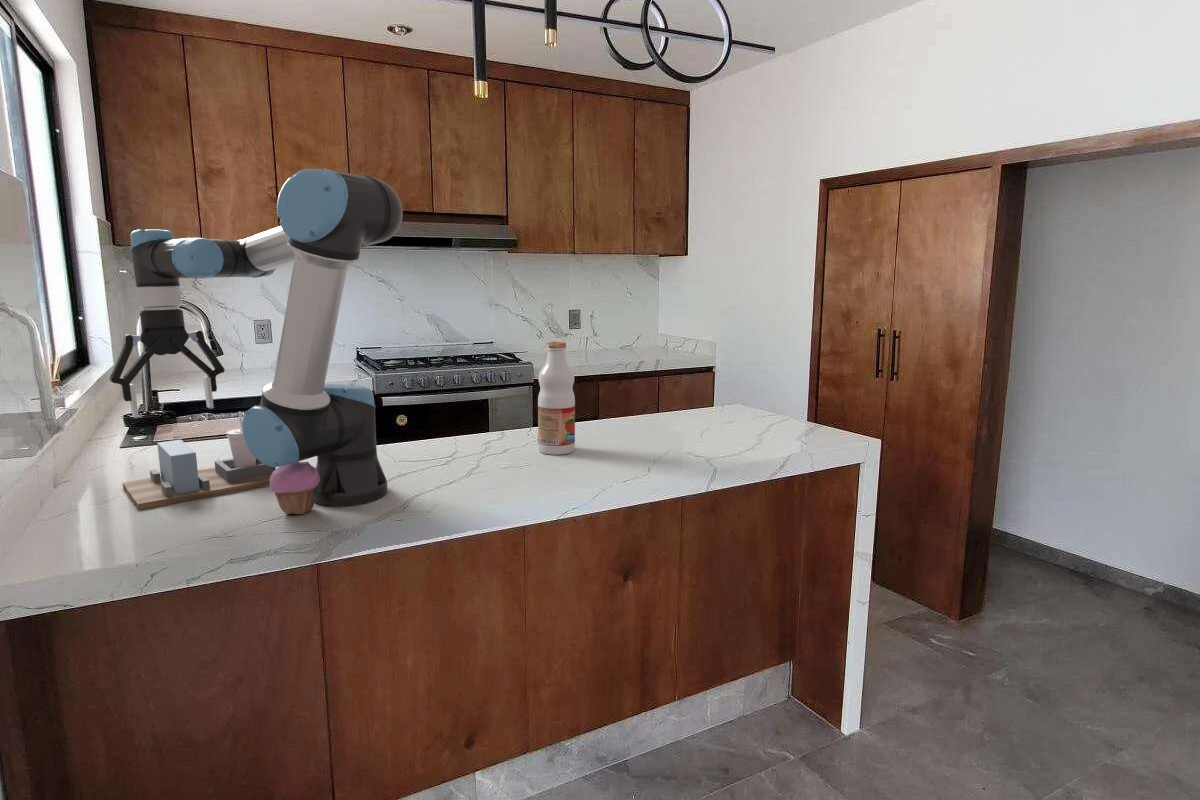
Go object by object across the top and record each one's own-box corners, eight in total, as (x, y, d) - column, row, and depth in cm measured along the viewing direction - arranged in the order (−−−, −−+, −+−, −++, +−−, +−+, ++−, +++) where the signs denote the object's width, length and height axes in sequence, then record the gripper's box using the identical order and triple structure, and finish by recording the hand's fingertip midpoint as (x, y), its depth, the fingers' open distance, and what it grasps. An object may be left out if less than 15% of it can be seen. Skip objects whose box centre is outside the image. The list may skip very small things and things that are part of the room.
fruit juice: (537, 446, 190) (536, 340, 185) (573, 445, 191) (573, 340, 186) (539, 456, 181) (538, 344, 176) (576, 455, 182) (576, 344, 177)
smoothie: (226, 478, 157) (220, 415, 154) (233, 469, 163) (227, 409, 160) (258, 476, 158) (253, 413, 156) (264, 468, 164) (259, 407, 162)
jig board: (287, 482, 158) (287, 477, 158) (138, 509, 140) (137, 503, 140) (262, 464, 171) (261, 459, 171) (123, 487, 153) (122, 482, 153)
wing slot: (210, 489, 149) (209, 480, 148) (166, 497, 144) (165, 487, 143) (191, 472, 161) (190, 463, 160) (150, 479, 156) (149, 470, 155)
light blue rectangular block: (161, 478, 156) (157, 442, 154) (184, 474, 159) (181, 439, 157) (174, 494, 146) (170, 456, 144) (199, 490, 148) (195, 452, 147)
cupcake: (328, 504, 144) (324, 456, 142) (312, 520, 135) (308, 468, 133) (282, 505, 143) (279, 456, 141) (264, 520, 135) (260, 468, 133)
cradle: (276, 473, 160) (275, 462, 160) (227, 482, 154) (226, 471, 153) (262, 464, 167) (261, 453, 167) (215, 472, 161) (214, 461, 161)
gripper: (223, 305, 156) (234, 401, 160) (83, 311, 140) (98, 418, 144) (233, 306, 151) (243, 406, 154) (88, 312, 134) (104, 423, 138)
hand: (174, 412), depth 149 cm, fingers open, 13 cm apart
